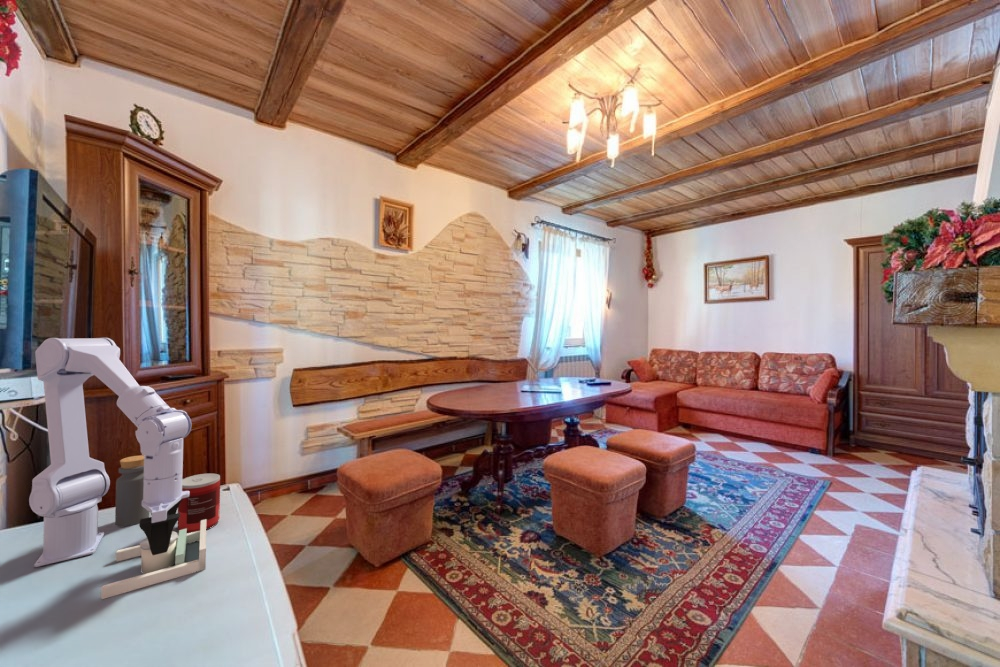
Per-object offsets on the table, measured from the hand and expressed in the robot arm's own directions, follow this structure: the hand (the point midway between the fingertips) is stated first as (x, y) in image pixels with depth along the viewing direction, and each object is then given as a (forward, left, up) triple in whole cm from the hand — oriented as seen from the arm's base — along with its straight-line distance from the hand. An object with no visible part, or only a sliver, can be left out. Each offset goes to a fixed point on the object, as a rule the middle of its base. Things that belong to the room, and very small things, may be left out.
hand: (162, 543), depth 74 cm
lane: (0, 0, -4) cm, 4 cm away
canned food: (-14, +6, -4) cm, 16 cm away
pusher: (0, +3, -4) cm, 5 cm away
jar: (0, 0, -4) cm, 4 cm away
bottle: (-26, -7, -4) cm, 27 cm away
